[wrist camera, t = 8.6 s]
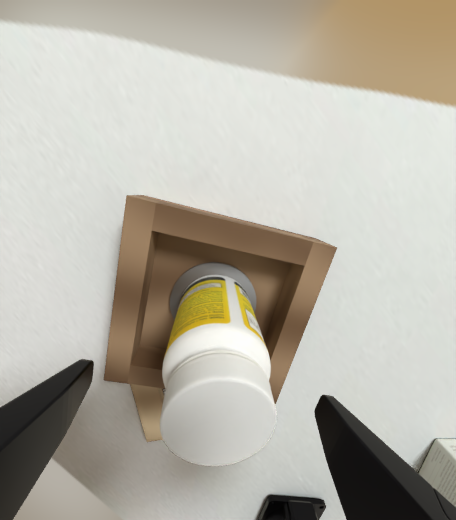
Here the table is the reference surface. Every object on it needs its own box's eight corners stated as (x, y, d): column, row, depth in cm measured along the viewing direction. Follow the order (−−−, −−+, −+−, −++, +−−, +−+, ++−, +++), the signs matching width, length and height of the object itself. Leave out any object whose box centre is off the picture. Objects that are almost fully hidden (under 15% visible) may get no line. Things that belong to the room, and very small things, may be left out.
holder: (266, 374, 19) (275, 404, 16) (120, 351, 17) (103, 380, 15) (315, 238, 16) (337, 247, 13) (142, 195, 14) (126, 195, 11)
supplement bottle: (170, 320, 16) (124, 457, 7) (196, 261, 14) (176, 347, 6) (231, 342, 16) (250, 486, 8) (261, 288, 15) (315, 394, 7)
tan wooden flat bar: (172, 429, 20) (170, 438, 19) (149, 432, 20) (147, 441, 19) (154, 355, 18) (151, 362, 17) (128, 358, 17) (125, 366, 17)
